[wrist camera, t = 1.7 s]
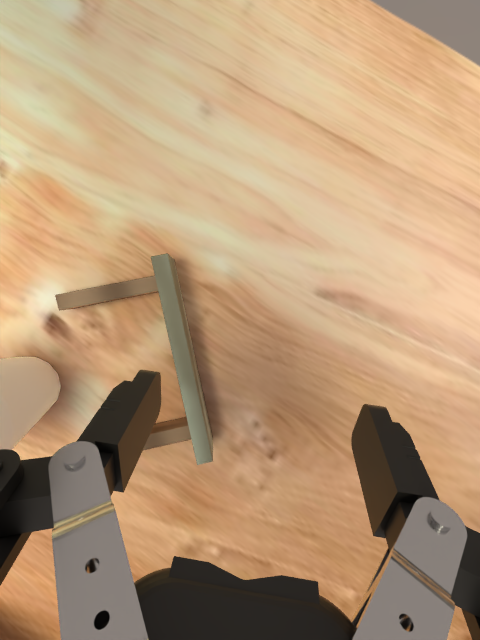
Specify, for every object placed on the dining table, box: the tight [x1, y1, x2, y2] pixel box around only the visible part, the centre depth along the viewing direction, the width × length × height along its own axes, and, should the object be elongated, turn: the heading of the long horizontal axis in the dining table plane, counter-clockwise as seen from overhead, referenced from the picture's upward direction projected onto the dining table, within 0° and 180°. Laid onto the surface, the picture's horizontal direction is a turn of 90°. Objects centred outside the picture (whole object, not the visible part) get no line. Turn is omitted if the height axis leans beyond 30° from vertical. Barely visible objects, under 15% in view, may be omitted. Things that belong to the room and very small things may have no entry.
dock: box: [55, 254, 213, 465], centre depth 32 cm, size 12×20×5 cm, turn 11°
